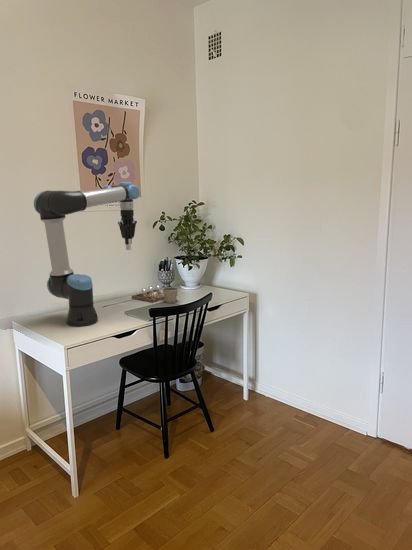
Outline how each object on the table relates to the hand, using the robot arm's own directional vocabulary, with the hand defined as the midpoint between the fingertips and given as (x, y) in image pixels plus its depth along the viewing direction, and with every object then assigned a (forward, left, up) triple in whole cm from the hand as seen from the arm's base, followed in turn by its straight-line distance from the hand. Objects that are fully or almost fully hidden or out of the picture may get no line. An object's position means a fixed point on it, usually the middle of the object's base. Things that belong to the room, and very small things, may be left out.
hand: (128, 249), depth 249 cm
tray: (+10, -10, -30) cm, 34 cm away
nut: (+4, -12, -29) cm, 32 cm away
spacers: (+11, -11, -29) cm, 33 cm away
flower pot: (+8, -25, -31) cm, 40 cm away
